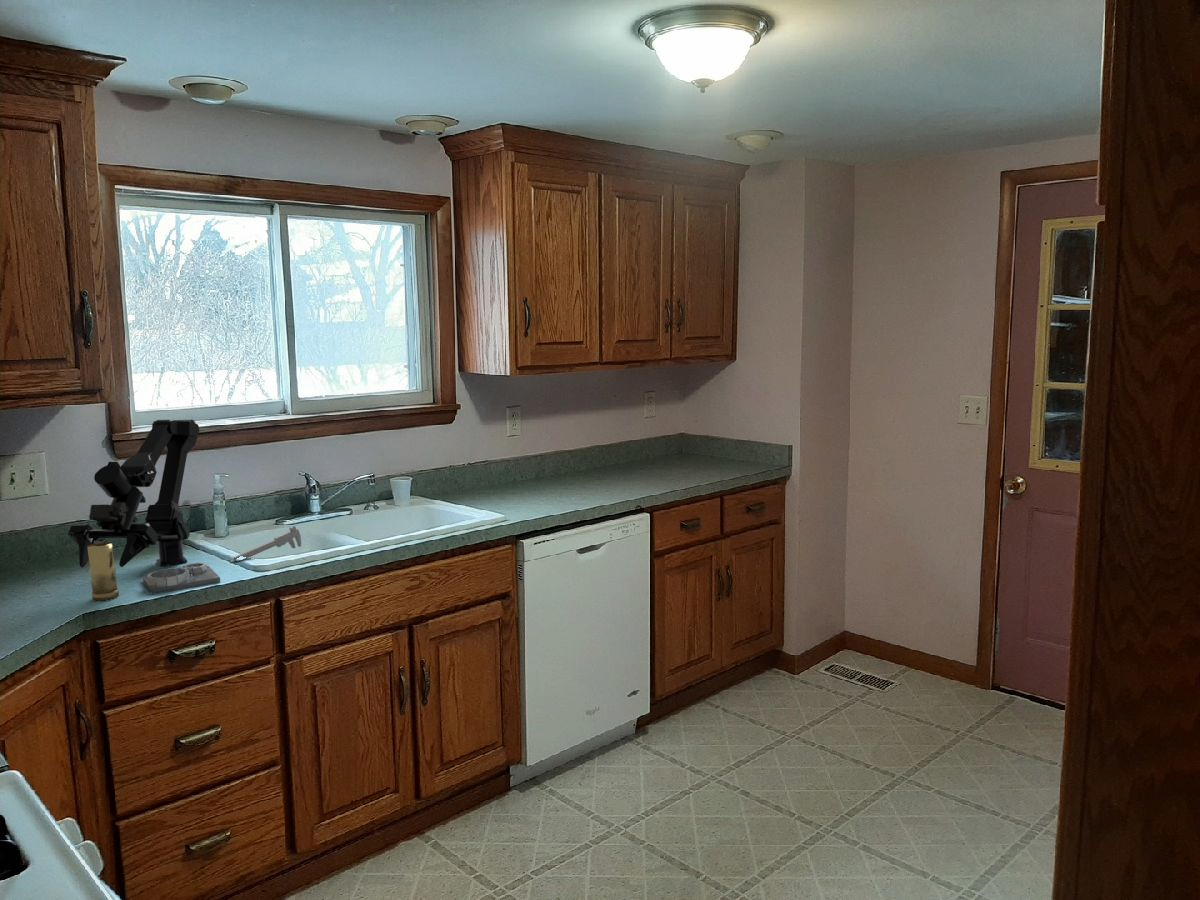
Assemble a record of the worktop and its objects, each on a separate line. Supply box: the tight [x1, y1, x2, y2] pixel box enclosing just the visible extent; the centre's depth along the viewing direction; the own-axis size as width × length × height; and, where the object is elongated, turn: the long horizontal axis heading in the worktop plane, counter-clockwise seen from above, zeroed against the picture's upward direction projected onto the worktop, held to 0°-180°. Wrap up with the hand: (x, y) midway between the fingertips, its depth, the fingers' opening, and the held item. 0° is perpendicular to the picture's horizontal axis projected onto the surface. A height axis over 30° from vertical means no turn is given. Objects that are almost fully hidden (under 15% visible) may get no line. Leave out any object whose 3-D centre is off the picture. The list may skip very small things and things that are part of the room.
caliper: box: [229, 525, 302, 564], centre depth 244 cm, size 20×1×6 cm, turn 140°
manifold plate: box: [142, 562, 221, 595], centre depth 221 cm, size 13×15×3 cm
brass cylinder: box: [87, 538, 120, 602], centre depth 209 cm, size 5×5×14 cm
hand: (101, 566), depth 208 cm, fingers open, 9 cm apart
